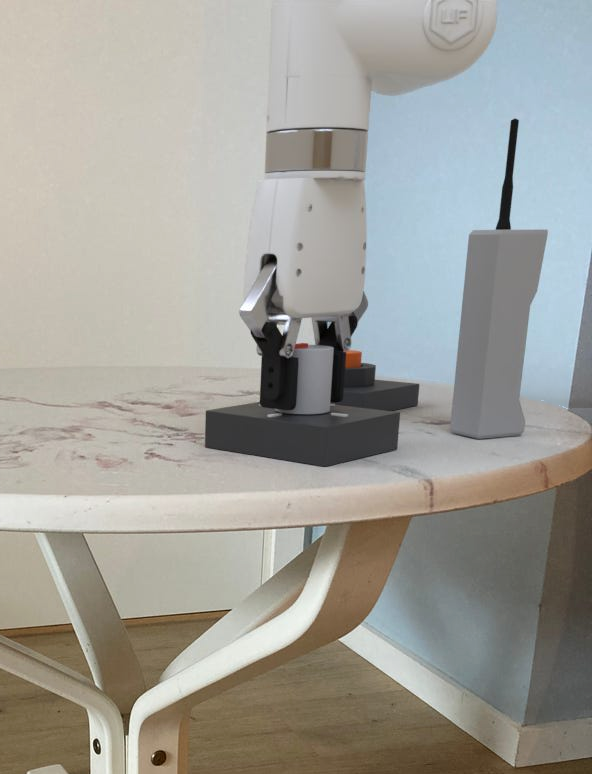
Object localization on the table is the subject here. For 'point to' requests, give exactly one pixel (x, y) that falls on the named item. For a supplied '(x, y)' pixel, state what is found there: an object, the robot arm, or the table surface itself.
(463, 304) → the vintage mobile phone
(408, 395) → the block
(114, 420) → the table surface
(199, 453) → the table surface
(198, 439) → the table surface
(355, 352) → the button
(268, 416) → the timer panel
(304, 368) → the timer knob
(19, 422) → the table surface
